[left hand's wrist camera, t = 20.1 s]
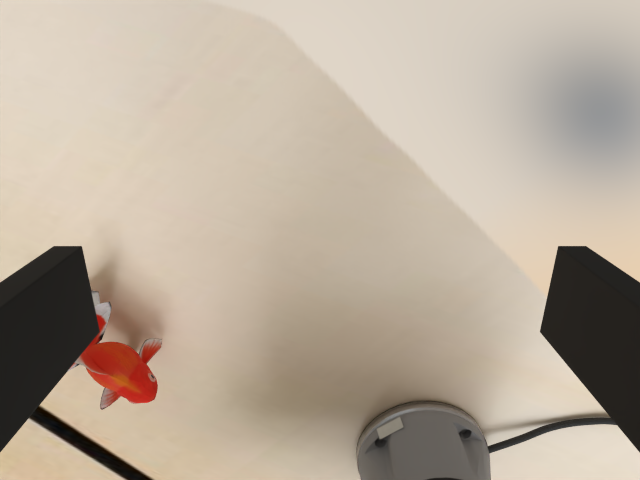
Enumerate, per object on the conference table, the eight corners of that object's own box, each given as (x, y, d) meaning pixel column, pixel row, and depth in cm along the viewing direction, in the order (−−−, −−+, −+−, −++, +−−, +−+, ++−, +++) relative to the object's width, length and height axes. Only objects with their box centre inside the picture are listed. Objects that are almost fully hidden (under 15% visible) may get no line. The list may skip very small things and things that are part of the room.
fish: (103, 440, 46) (46, 471, 36) (30, 317, 49) (-43, 315, 39) (190, 377, 48) (157, 391, 38) (114, 260, 50) (65, 245, 40)
